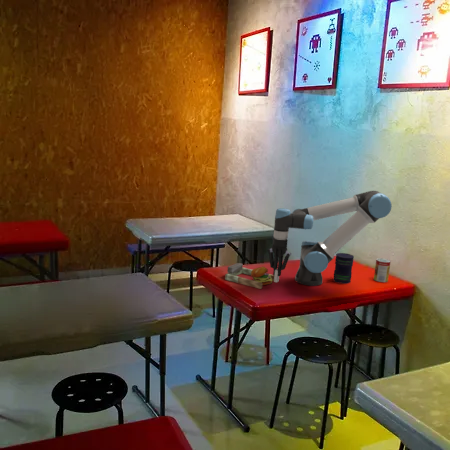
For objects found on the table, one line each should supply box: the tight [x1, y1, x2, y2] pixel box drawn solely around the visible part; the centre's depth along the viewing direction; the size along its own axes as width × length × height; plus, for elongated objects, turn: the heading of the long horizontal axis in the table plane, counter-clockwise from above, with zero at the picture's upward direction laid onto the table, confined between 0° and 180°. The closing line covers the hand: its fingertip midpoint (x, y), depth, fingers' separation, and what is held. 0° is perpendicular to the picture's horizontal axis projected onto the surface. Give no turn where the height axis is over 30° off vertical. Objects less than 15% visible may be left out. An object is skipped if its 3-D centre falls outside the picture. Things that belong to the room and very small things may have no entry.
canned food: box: [373, 257, 391, 283], centre depth 286 cm, size 8×8×12 cm
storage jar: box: [332, 252, 355, 285], centre depth 279 cm, size 10×10×15 cm
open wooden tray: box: [224, 262, 275, 290], centre depth 271 cm, size 23×18×6 cm
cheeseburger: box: [250, 266, 273, 286], centre depth 267 cm, size 10×11×10 cm
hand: (276, 281), depth 263 cm, fingers closed
